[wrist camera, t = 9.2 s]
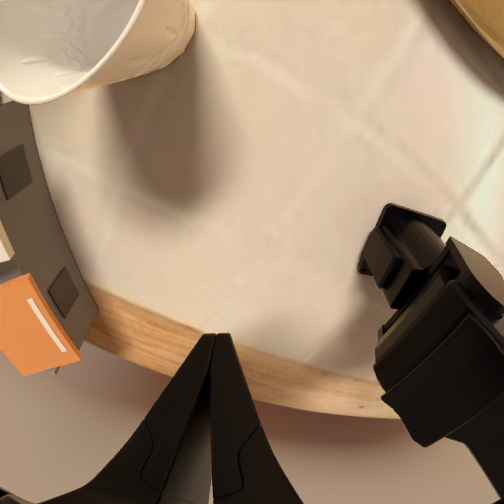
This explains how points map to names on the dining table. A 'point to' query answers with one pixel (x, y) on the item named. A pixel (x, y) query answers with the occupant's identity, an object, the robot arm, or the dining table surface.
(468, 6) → the plant saucer
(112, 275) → the dining table surface
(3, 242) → the white rocker
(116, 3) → the white cup
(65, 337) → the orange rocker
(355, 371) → the dining table surface
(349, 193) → the dining table surface
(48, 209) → the rocker switch box
